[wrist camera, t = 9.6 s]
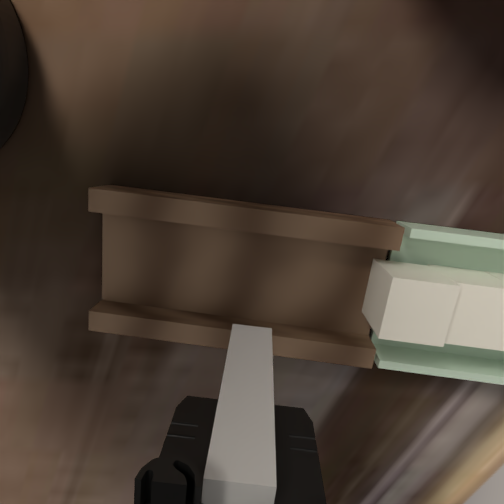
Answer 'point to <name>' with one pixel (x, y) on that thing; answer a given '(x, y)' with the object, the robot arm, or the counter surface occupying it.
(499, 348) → the white cube
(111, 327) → the slot board
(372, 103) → the counter surface
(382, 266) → the pale grey cube
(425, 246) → the tray
